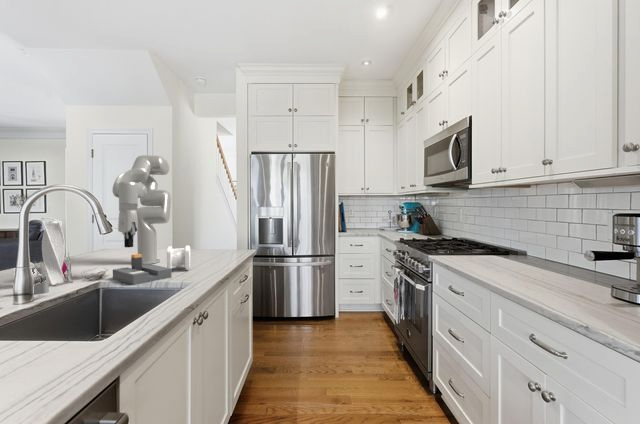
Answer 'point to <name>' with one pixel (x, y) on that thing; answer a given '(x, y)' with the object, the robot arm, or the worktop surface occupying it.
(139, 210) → the robot arm
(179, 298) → the worktop surface
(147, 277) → the breaker panel
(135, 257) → the block
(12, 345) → the worktop surface
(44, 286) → the power adapter
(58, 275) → the skyscraper
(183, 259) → the cable organizer
